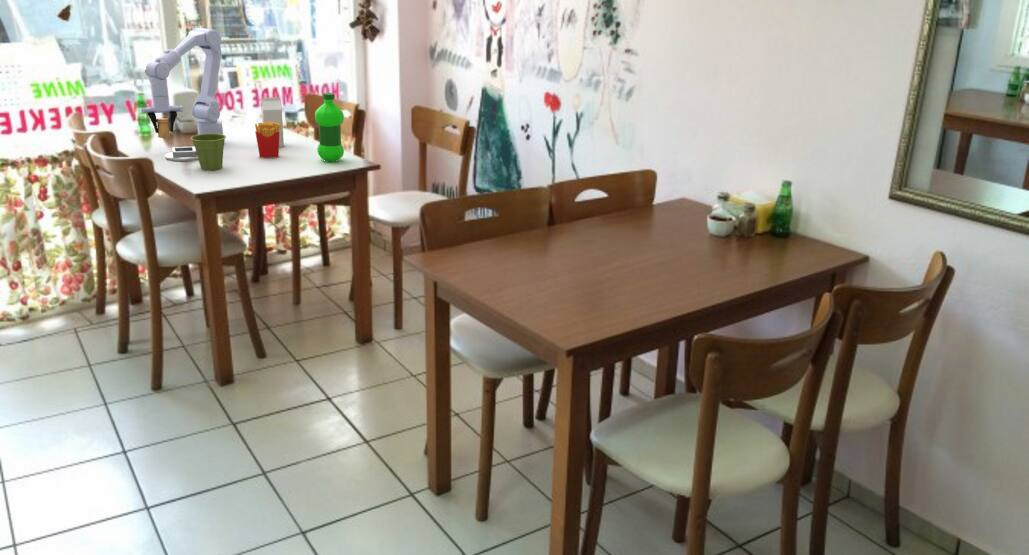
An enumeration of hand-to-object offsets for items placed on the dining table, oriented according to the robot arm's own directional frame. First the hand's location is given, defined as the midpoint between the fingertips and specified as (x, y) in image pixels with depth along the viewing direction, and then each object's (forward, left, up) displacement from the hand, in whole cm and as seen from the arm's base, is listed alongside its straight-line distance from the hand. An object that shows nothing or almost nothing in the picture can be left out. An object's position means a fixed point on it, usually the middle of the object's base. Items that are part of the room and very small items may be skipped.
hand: (164, 131), depth 312 cm
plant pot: (-14, +27, -8) cm, 32 cm away
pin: (0, 0, -2) cm, 2 cm away
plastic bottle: (-57, +25, -8) cm, 63 cm away
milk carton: (-40, -4, -8) cm, 41 cm away
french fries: (-36, +14, -8) cm, 39 cm away
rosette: (-9, +9, -8) cm, 15 cm away
